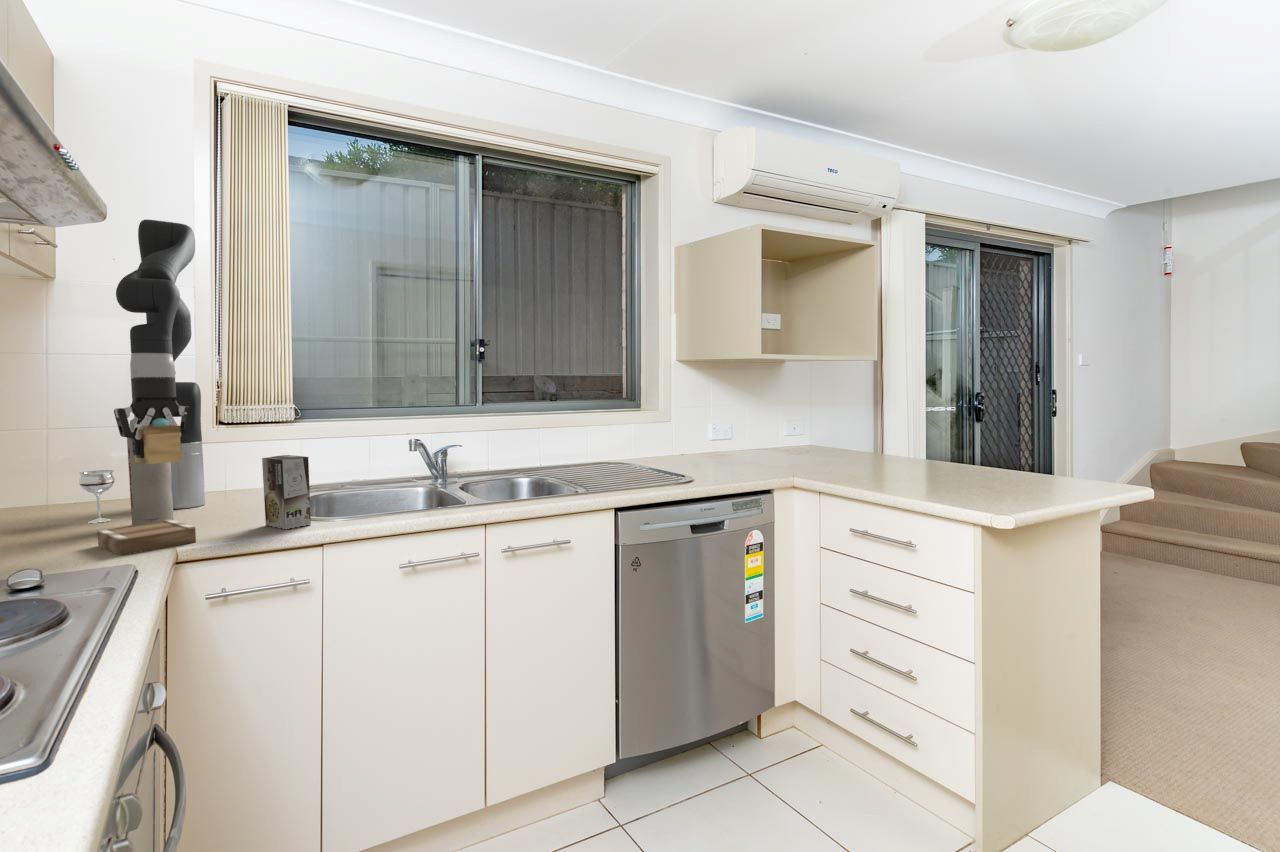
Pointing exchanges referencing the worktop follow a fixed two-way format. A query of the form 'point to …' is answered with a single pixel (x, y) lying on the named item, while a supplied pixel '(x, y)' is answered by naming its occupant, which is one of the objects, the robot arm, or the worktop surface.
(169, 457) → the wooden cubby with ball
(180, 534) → the dock
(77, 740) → the worktop surface
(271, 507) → the coffee box
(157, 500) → the thermos bottle
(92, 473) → the wineglass
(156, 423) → the ball
